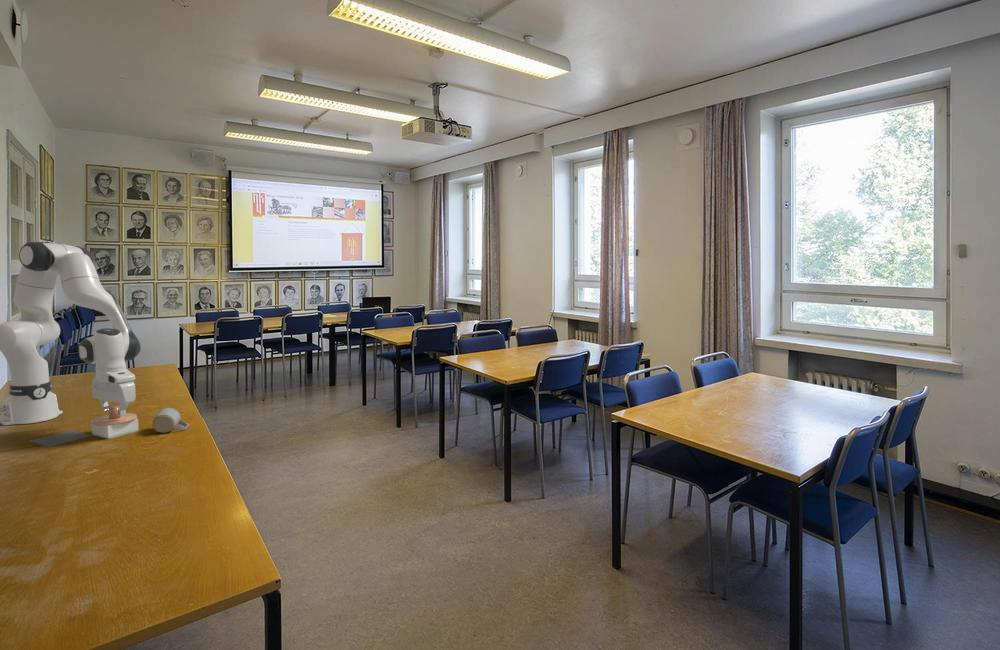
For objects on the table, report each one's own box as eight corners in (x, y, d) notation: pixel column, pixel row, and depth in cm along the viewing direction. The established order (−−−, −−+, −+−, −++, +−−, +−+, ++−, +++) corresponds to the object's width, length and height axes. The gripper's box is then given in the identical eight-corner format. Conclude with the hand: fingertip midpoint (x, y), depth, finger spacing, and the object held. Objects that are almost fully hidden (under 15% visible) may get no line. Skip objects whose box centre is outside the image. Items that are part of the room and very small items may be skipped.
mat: (28, 441, 181) (28, 440, 181) (72, 431, 192) (72, 430, 192) (48, 448, 175) (48, 446, 175) (92, 436, 187) (92, 435, 187)
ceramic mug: (151, 434, 190) (150, 413, 189) (157, 428, 197) (156, 408, 196) (185, 432, 193) (185, 412, 192) (190, 426, 201) (189, 406, 200)
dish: (92, 435, 188) (91, 421, 187) (122, 428, 197) (121, 414, 196) (108, 440, 184) (107, 425, 183) (138, 432, 193) (137, 418, 192)
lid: (83, 422, 187) (82, 409, 186) (123, 413, 198) (122, 400, 198) (105, 427, 181) (104, 413, 181) (144, 418, 193) (144, 405, 192)
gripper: (84, 373, 189) (87, 411, 191) (119, 379, 181) (121, 419, 182) (104, 370, 195) (106, 407, 197) (138, 376, 186) (140, 414, 188)
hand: (114, 412), depth 189 cm, fingers open, 8 cm apart
